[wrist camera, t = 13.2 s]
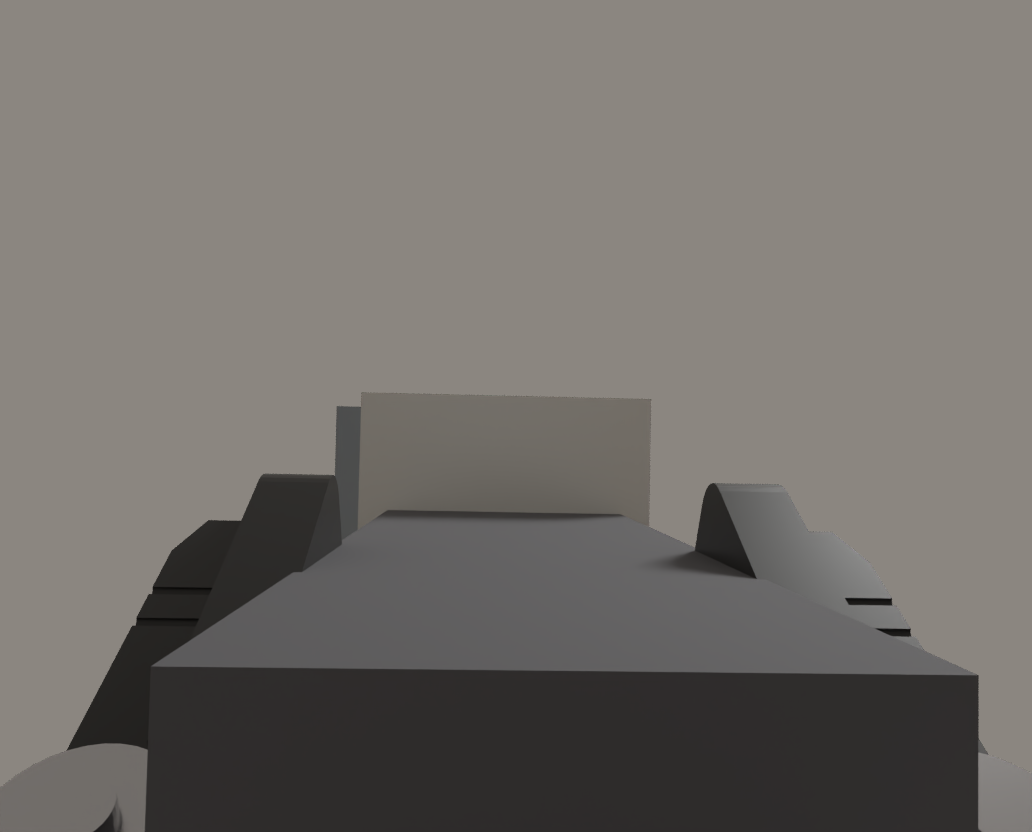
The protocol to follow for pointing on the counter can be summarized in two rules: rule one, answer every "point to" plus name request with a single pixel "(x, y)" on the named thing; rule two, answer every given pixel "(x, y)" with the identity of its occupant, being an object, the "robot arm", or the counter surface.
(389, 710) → the block
